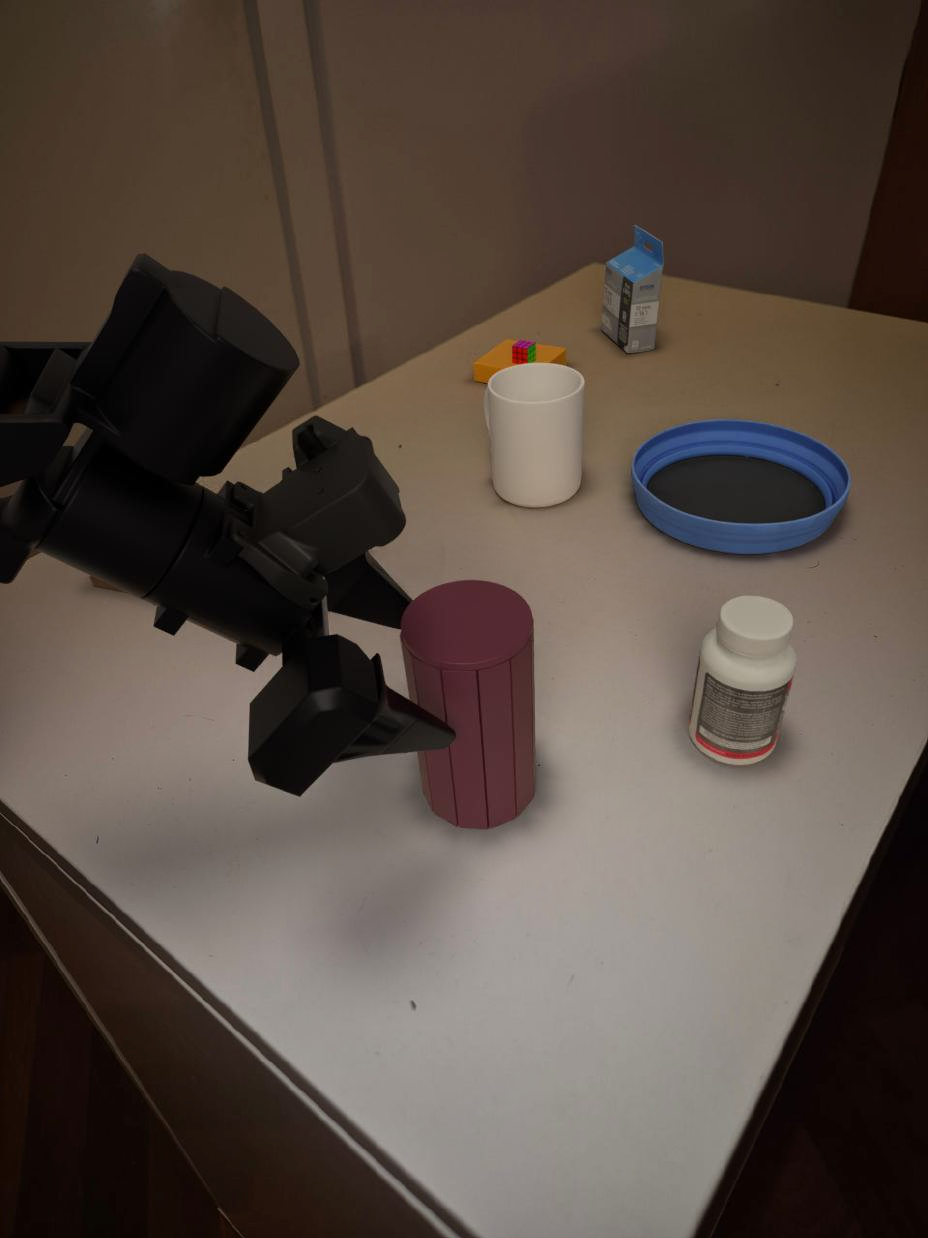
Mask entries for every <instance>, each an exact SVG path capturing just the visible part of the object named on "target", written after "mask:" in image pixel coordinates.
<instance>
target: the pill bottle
mask: <svg viewBox="0 0 928 1238" xmlns="http://www.w3.org/2000/svg"><path fill="white" fill-rule="evenodd" d="M793 630H794V617H793V615H792V613H791V612H790V610H789V609H788V608H787V607H786V606H785V605H784V604H782V603H781V602H778V601H777V600H774V599H772V598H769V597H767V596H760V595H740V596H735V597H734V598H732V599H731V598H730V599H728V600H727V601H726V602H725V603H724V604H723V605H722V606H721V608H720V609H719V612H718V618H717V622H716V625H715V627H713V629H711V630H710V631H709V632H708V633H707V634H706V635H705V637H704V638H703V639H702V641H701V644H700V648H699V653H698V660H697V666H696V672H695V680H694V686H693V692H692V698H691V706H690V711H689V712H690V713H689V721H688V732H689V737H690V738H691V740H692V742H693V744H694V745H695V747H697V748H698V750H699V751H701V752H702V753H703V754H704V755H706V756H707V757H709V758H711V759H713V760H715V761H717V762H719V763H722V764H723V763H724V764H727V765H733V766H747V765H752V764H756V763H758V762H760V761H762V760H765V759H766V758H768V756H770V755H771V754H772V752H773V751H774V749H775V747H776V744H777V741H778V737H779V734H780V730H781V727H782V722H783V719H784V715H785V713H786V708H787V707H786V706H787V703H788V699H789V696H790V691H791V689H792V684H793V681H794V677H795V674H796V673H795V672H796V669H797V662H798V661H797V653H796V650H795V648H794V646H793V645H792V643H791V640H792V637H793V636H792V633H793Z"/></svg>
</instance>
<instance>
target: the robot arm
mask: <svg viewBox="0 0 928 1238" xmlns="http://www.w3.org/2000/svg"><path fill="white" fill-rule="evenodd" d="M300 362H301V361H300V359H299V356H298V354H297V351H296V349H295V348H294V347H293V345H292V344H291V342H290V341H289V340H288V339H287V337H286V335H284V334H283V333H282V332H281V330H280V329H279V328H278V327H277V326H276V325H275V324H274V323H273V322H272V321H271V320H270V319H269V318H268V317H266V316H265V315H264V313H262V312H261V311H260V310H258V309H257V307H255V306H254V305H253V304H251V303H250V302H249V301H247V299H245V298H243V297H242V296H241V295H240V294H239V293H237V292H235V291H234V290H232V289H231V288H229V287H227V286H225V285H224V286H222V288H220V287H218V286H217V285H215V284H214V283H211V282H209V281H207V280H205V279H203V278H201V277H199V276H197V275H195V274H192V273H188V272H186V271H183V270H174V269H169V268H168V267H166V266H165V265H163V264H162V263H160V262H159V261H158V260H156V259H155V258H153V257H151V256H150V255H148V253H146V252H145V253H137V254H136V255H135V257H134V259H133V260H132V263H130V266H129V267H128V269H127V271H126V272H125V275H124V277H123V278H122V281H121V282H120V284H119V287H118V290H117V291H116V294H115V296H114V299H113V303H112V308H111V309H110V311H109V313H108V314H107V316H106V318H105V320H104V321H103V322H102V324H101V326H100V328H99V329H98V331H97V333H96V334H95V336H94V338H93V339H92V341H8V340H7V341H0V488H3V487H6V486H9V485H12V484H15V483H18V482H20V483H19V485H18V486H17V488H16V489H15V492H14V493H13V494H11V495H8V496H5V497H0V584H2V585H8V584H11V583H13V582H14V581H15V579H16V578H17V577H18V575H19V574H20V572H21V570H22V569H23V567H24V566H25V564H26V563H27V561H28V559H29V558H30V556H31V555H32V553H33V552H34V550H35V551H37V552H40V553H42V554H43V555H45V556H48V557H50V558H53V559H55V560H57V561H59V562H61V563H62V564H65V565H68V566H69V567H72V568H74V569H76V570H79V572H82V573H85V574H87V575H89V576H93V577H95V578H97V579H99V580H102V581H104V582H106V583H108V584H110V585H112V586H114V587H117V588H119V589H121V590H123V591H125V592H124V593H128V594H129V595H132V596H134V597H136V598H139V599H140V600H142V601H144V602H146V603H149V604H151V605H153V606H155V607H156V609H155V613H154V614H155V615H154V621H153V628H156V629H158V630H160V631H162V632H164V633H167V634H168V635H171V636H173V637H174V636H176V634H177V633H178V632H179V630H180V629H181V628H182V627H183V625H184V624H185V623H186V622H189V623H191V624H194V625H196V626H197V627H200V628H202V629H204V630H206V631H208V632H211V633H213V634H215V635H217V636H219V637H221V638H223V639H225V640H228V641H230V642H232V643H234V644H236V645H235V662H234V664H235V665H237V666H239V667H241V668H243V669H245V670H247V671H249V672H252V673H255V672H256V671H257V669H258V668H259V667H260V666H261V665H262V664H263V663H264V661H265V660H267V658H268V657H269V656H270V655H271V656H273V657H278V656H280V655H281V667H280V668H279V669H278V671H277V672H276V673H275V674H274V675H273V676H272V678H270V680H269V681H268V682H267V683H266V684H265V685H264V686H263V688H261V690H260V691H259V692H258V693H257V694H256V696H255V697H254V698H253V699H252V700H251V701H250V702H249V709H248V710H249V713H248V743H247V762H248V765H249V767H250V770H251V773H252V776H253V779H254V782H255V781H256V782H258V783H261V784H263V785H266V786H269V787H272V788H274V789H277V790H279V791H283V792H285V793H287V794H290V795H292V796H296V797H298V798H300V797H302V795H303V794H305V792H306V791H308V789H310V788H311V786H312V785H314V783H316V781H317V780H318V779H319V778H321V776H322V775H323V774H324V773H325V772H326V771H327V770H328V769H329V768H330V767H331V766H332V765H333V764H338V763H343V762H347V761H352V760H357V759H361V758H367V757H376V756H377V757H378V756H385V755H387V756H388V755H396V754H406V753H417V752H419V751H429V750H440V749H445V748H446V747H448V746H449V745H450V744H451V743H452V742H453V741H454V740H455V739H456V732H455V730H454V729H452V728H451V727H450V726H448V725H447V724H446V723H444V722H443V721H442V720H440V719H439V718H438V717H436V716H434V715H433V714H431V713H430V712H428V711H426V710H425V709H423V708H422V707H420V706H418V705H417V704H415V703H413V702H412V701H410V700H409V698H408V697H406V696H403V694H401V693H399V692H397V691H396V690H395V689H392V688H391V687H389V686H388V685H387V683H386V679H385V672H384V668H383V662H382V656H381V654H380V653H379V652H376V653H375V654H374V655H373V656H372V657H371V658H370V657H369V656H368V655H367V654H366V653H365V651H364V650H363V649H362V648H361V647H360V646H359V644H358V643H357V642H355V641H352V640H350V639H348V638H346V637H344V636H342V635H341V634H339V633H333V634H330V622H329V613H334V614H338V615H341V616H345V617H348V618H353V619H356V620H360V621H364V622H368V623H371V624H375V625H378V626H382V627H386V628H390V629H394V630H399V631H401V619H402V616H403V613H404V611H405V610H406V608H407V606H408V605H409V604H410V603H411V602H412V601H413V600H414V599H413V598H412V597H411V596H410V595H409V594H408V593H407V592H406V591H405V590H404V589H403V588H402V587H401V585H400V584H399V583H398V582H397V581H396V580H395V579H394V578H393V577H392V576H391V575H390V574H389V572H387V571H386V569H385V568H384V567H383V566H382V565H381V564H380V563H379V562H378V560H377V559H376V558H375V557H374V556H373V555H372V553H371V552H370V550H372V549H375V548H376V547H379V548H383V547H385V546H387V545H389V544H390V543H392V542H394V541H395V540H396V539H397V538H398V537H399V536H400V535H401V534H402V533H403V531H404V530H405V528H406V525H407V516H406V514H405V511H404V509H403V506H402V501H401V498H400V492H401V491H400V487H399V485H398V484H397V482H396V481H395V480H394V478H393V477H392V475H391V474H390V473H389V472H388V470H387V469H386V467H385V466H384V464H383V463H382V461H381V460H380V459H379V458H378V456H377V455H376V454H375V449H374V444H373V441H372V439H371V438H370V437H369V436H366V435H360V434H359V433H358V432H357V430H356V429H355V428H354V427H353V426H352V427H350V428H348V429H345V428H343V427H340V426H339V425H336V424H334V423H333V422H331V421H329V420H327V419H325V418H323V417H322V416H319V415H313V416H311V417H310V418H308V419H307V420H305V421H304V422H302V423H300V424H298V425H297V426H296V427H295V426H294V428H293V429H292V430H291V443H292V451H293V457H294V458H293V459H294V463H295V469H293V470H292V469H291V467H290V466H287V467H285V468H283V469H282V470H281V480H280V481H279V482H277V483H276V484H275V485H273V486H271V487H270V488H269V489H267V490H266V491H264V492H262V491H259V490H257V489H255V488H253V487H252V486H250V485H247V484H246V483H244V482H242V481H236V482H235V483H233V482H231V481H229V480H227V479H226V481H225V482H224V484H223V485H222V486H221V488H220V489H219V491H217V493H216V492H214V491H213V490H211V489H209V488H207V487H206V486H203V485H201V484H200V483H198V482H197V481H198V480H199V479H200V477H201V478H207V477H208V478H209V477H210V478H211V477H216V476H217V475H220V474H222V472H223V471H224V470H225V468H226V467H227V466H228V464H229V463H230V461H232V460H233V458H234V457H235V455H236V454H237V452H238V450H240V448H241V446H242V445H243V444H244V443H245V441H246V440H247V438H249V436H250V434H252V432H253V430H254V429H255V428H256V426H257V425H258V423H259V422H260V421H261V419H262V418H263V417H264V415H265V414H266V413H267V411H268V410H269V409H270V407H271V406H272V405H273V403H274V401H275V400H276V399H277V398H278V396H279V395H280V394H281V393H282V391H283V390H284V388H285V387H286V386H287V384H288V382H289V381H290V380H291V378H292V377H293V376H294V374H295V373H296V372H297V370H298V369H299V367H300V365H301V363H300ZM74 424H81V425H83V426H85V427H86V429H85V430H84V431H83V433H82V434H81V435H80V437H79V438H78V439H77V441H76V442H75V444H74V445H65V443H66V441H67V440H68V438H69V437H70V434H71V432H72V429H73V426H74ZM123 591H122V592H123Z"/></svg>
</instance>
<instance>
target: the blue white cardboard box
mask: <svg viewBox="0 0 928 1238" xmlns="http://www.w3.org/2000/svg"><path fill="white" fill-rule="evenodd" d="M648 243H649V246H650V247H652V250H653V251H652V250H651V249H649V248H647V247H646V246H645V244H648ZM664 264H665V261H664V242H663V241H662V240H660V239H659V238H657V237H656V236H654V235H653V234H651V233H650V232H648V231H646V230H644V229H643V228H641V227H639V226H638V225H636V224H634V225H633V246H631V247H629V248H628V249H626V250H625V251H623V252H622V253H620V254H618V255H616V256H614V257H613V258H611V259H610V260H608V261H607V262H605V269H604V270H605V271H604V284H603V298H602V310H601V311H602V312H601V323H600V330H601V331H602V332H603V333H604V334H606V335H607V336H608V337H609V338H610V339H611V340H612V341H613V342H614V343H616V344H617V345H618V346H619V347H620V348H621V349H622V350H623V351H625V352H626V353H627V354H632V353H633V354H634V353H642V352H643V353H644V352H649V351H654V350H655V347H656V337H657V336H656V335H657V326H658V318H659V317H658V316H659V309H660V299H661V289H662V279H663V272H664V266H665V265H664Z"/></svg>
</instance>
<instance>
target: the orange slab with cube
mask: <svg viewBox="0 0 928 1238" xmlns="http://www.w3.org/2000/svg"><path fill="white" fill-rule="evenodd" d="M527 363H553V364H559V365H564V366H567V348H566V347H559V346H553V345H548V344H541V343H537V342H536V341H530V340H525V339H519V340H518V339H513V338H505V340H503V341H502V342H501V343H499V344H498V345H496V346H495V347H493V348H492V349H491V350H490V351H488V352H486V353H485V354H484V355H482V356H481V357H479V358H478V359H476V360H475V361H474V362H473V364H472V366H473V378H474V382H479V383H483V384H488V382H489V379H490V378H491V377H492V376H493V375H494V374H495V373H497V372H499V371H501V370H503V369H505V368H508V367H511V366H515V365H520V364H527Z"/></svg>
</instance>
